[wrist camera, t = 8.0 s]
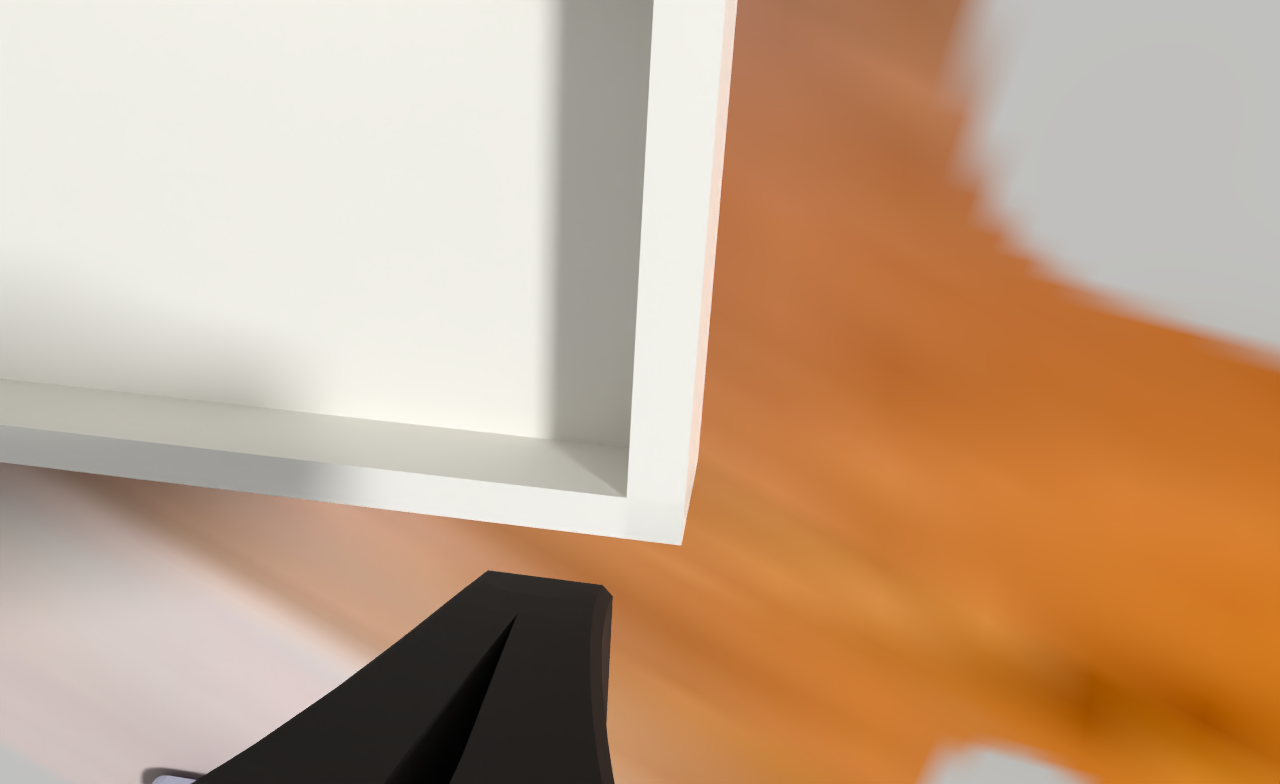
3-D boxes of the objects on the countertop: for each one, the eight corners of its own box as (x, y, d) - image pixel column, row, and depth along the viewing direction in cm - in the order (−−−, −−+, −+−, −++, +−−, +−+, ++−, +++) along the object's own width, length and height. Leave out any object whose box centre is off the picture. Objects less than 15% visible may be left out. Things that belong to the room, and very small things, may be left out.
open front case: (698, 459, 19) (681, 545, 15) (-33, 378, 21) (-184, 439, 17) (743, -75, 15) (735, -110, 12) (-150, -112, 17) (-370, -151, 14)
